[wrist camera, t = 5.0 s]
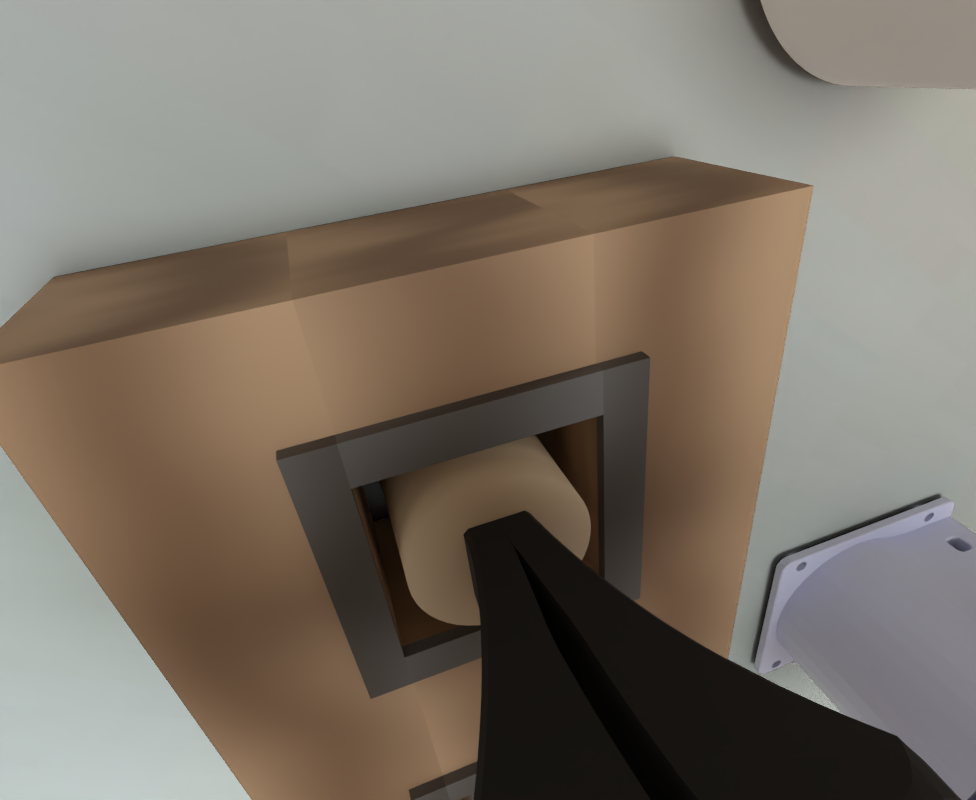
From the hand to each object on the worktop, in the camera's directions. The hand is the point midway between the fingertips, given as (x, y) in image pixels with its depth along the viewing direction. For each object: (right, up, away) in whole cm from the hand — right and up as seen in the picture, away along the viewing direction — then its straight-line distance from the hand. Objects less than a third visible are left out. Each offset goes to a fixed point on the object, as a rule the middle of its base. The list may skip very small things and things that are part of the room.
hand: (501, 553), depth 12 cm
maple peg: (-1, +2, +4) cm, 5 cm away
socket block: (-1, -3, +7) cm, 8 cm away
